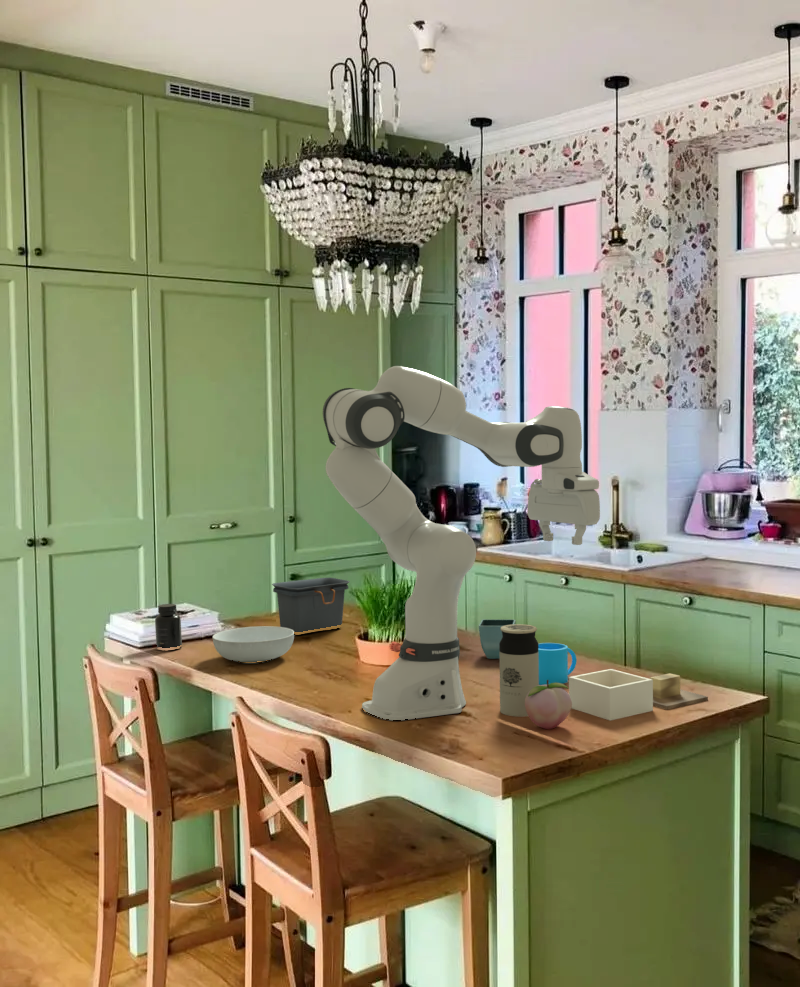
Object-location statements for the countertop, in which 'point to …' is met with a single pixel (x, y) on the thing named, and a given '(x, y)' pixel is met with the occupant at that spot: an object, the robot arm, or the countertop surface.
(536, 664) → the travel mug
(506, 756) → the countertop surface
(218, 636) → the serving bowl
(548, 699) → the decorative fruit
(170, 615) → the supplement bottle
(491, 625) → the flower pot
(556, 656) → the mug
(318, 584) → the storage bin
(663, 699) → the lid
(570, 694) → the box
